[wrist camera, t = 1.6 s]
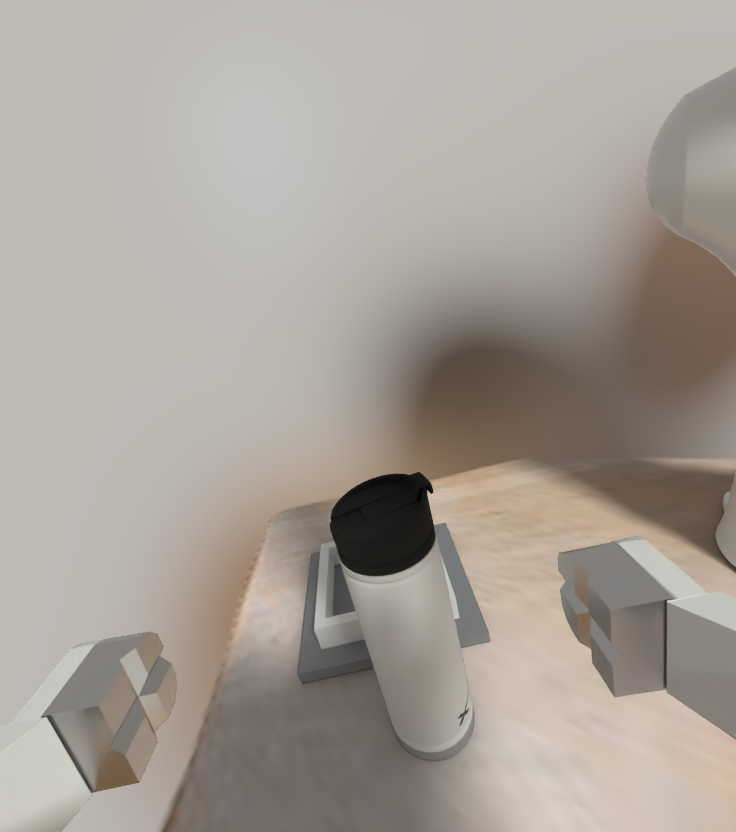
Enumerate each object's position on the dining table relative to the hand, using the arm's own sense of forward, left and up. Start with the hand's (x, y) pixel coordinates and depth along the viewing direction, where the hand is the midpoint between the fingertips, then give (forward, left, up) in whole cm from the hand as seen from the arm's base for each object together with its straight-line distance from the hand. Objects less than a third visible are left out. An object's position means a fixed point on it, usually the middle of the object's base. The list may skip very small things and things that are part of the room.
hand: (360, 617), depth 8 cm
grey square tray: (+2, -28, -26) cm, 39 cm away
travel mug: (0, -15, -27) cm, 31 cm away
